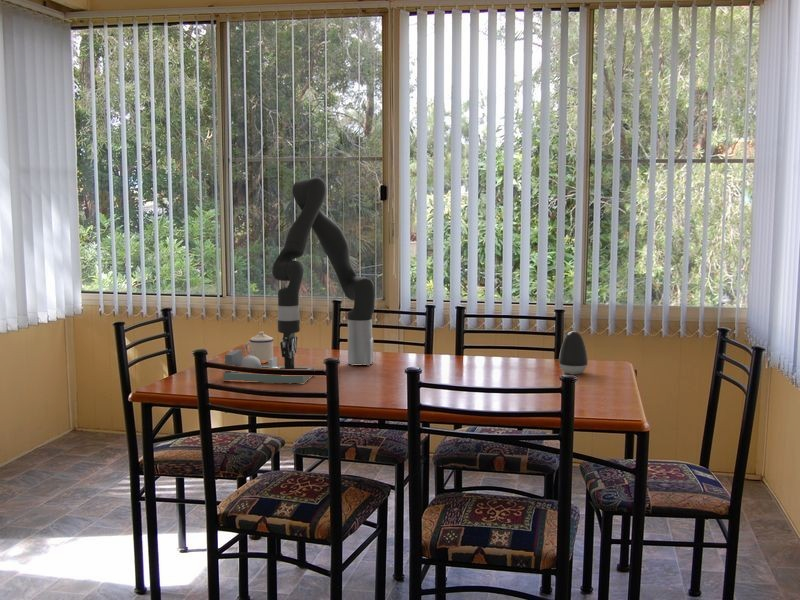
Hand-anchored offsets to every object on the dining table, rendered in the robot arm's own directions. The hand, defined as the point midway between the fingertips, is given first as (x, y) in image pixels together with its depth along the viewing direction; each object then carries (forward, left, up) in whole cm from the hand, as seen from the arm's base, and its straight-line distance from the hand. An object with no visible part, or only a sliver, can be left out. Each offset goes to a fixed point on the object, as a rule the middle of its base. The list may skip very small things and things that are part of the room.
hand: (289, 367), depth 287 cm
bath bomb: (+14, 0, -4) cm, 15 cm away
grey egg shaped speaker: (-98, -25, -4) cm, 101 cm away
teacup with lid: (+21, -31, -4) cm, 38 cm away
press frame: (+7, 0, -4) cm, 8 cm away
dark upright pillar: (+2, 0, -4) cm, 5 cm away
